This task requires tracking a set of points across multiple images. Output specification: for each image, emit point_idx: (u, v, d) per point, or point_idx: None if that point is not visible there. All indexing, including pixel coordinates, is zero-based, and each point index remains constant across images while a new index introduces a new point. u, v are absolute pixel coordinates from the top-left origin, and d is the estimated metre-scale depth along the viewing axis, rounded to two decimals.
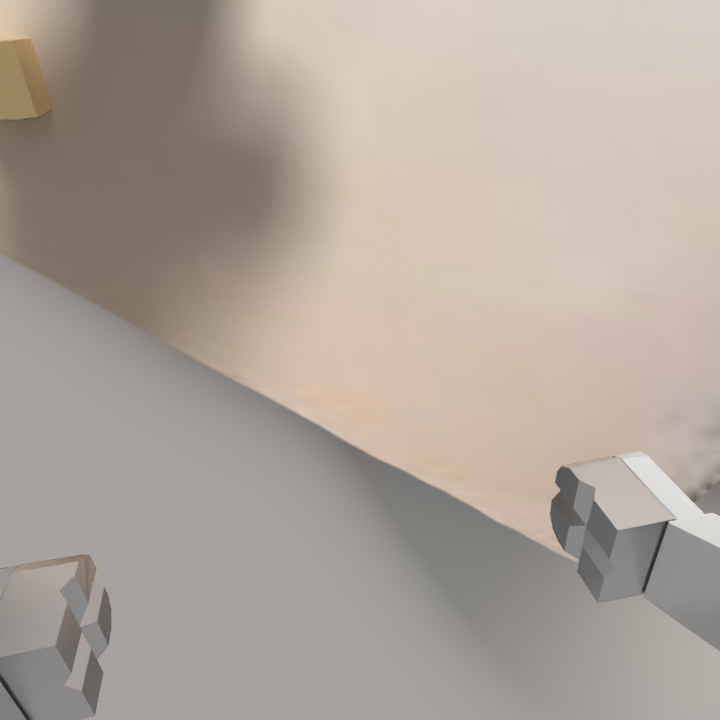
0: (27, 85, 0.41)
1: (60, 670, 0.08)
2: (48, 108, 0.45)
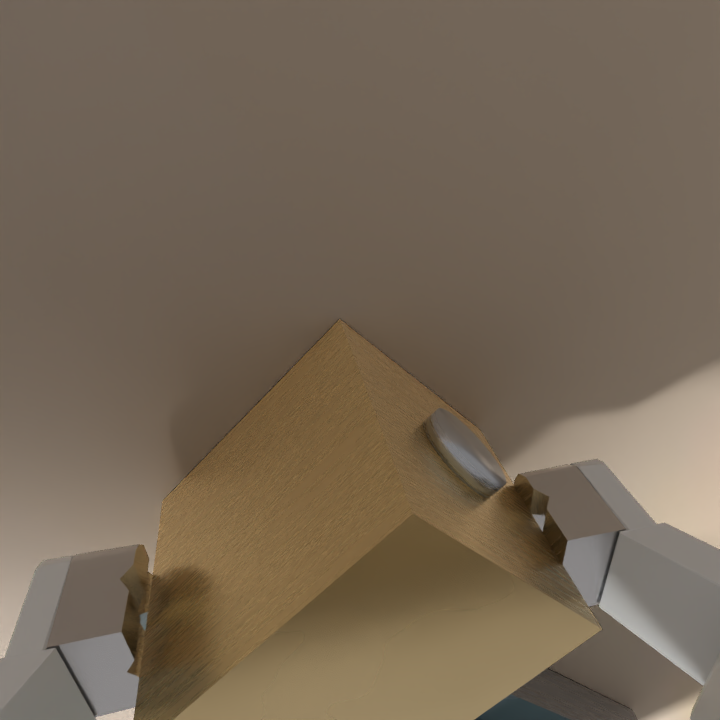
0: (277, 628, 0.06)
1: (124, 656, 0.08)
2: (342, 354, 0.09)
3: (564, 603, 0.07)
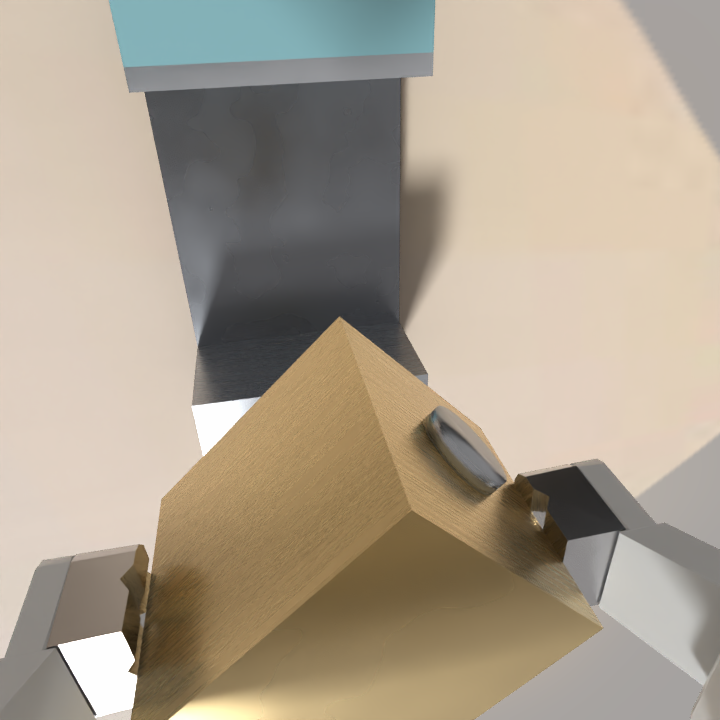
0: (274, 626, 0.06)
1: (124, 657, 0.08)
2: (342, 351, 0.09)
3: (564, 601, 0.07)
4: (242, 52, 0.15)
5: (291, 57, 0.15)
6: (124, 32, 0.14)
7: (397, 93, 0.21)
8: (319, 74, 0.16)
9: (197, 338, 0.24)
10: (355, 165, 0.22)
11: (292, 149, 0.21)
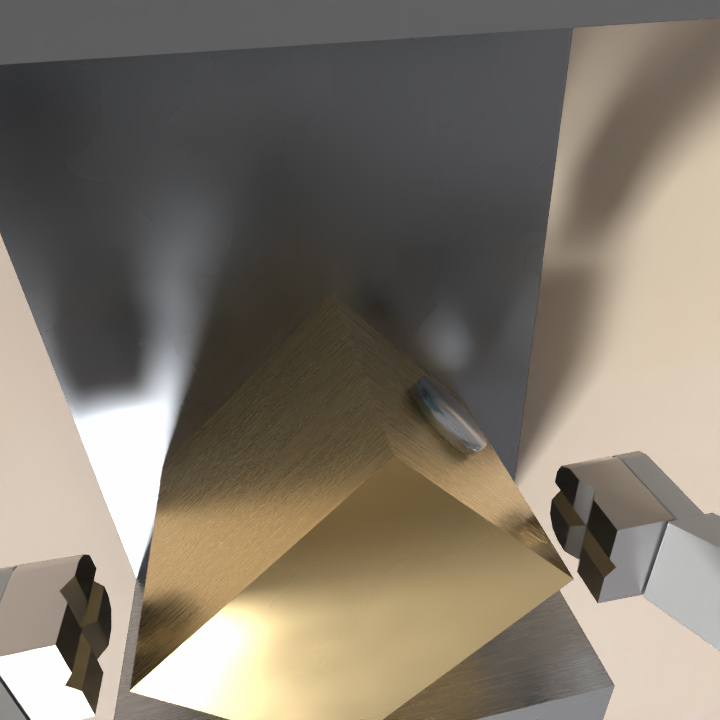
0: (268, 565, 0.07)
1: (60, 670, 0.08)
2: (334, 323, 0.09)
3: (537, 552, 0.08)
4: None
5: None
6: None
7: (559, 84, 0.09)
8: (456, 3, 0.04)
9: (134, 566, 0.13)
10: (453, 242, 0.10)
11: (318, 214, 0.09)
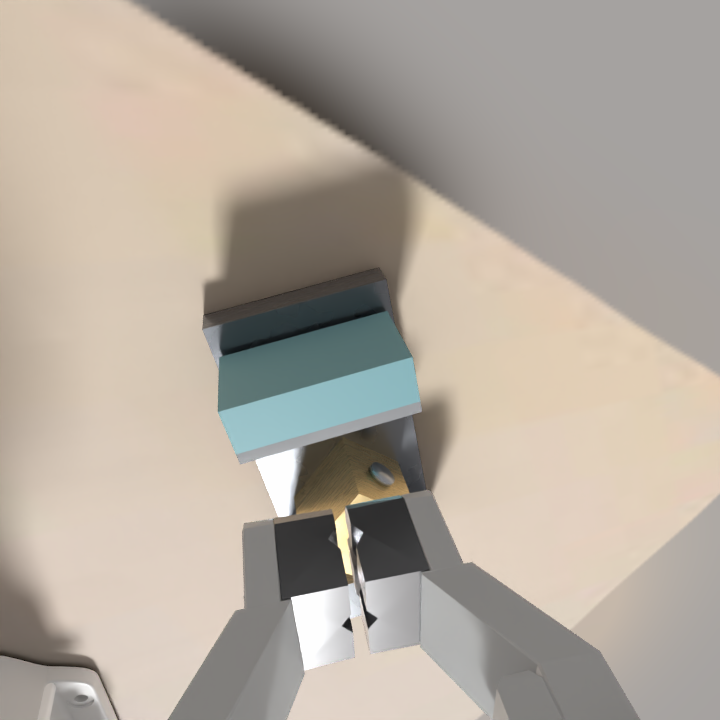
0: None
1: (343, 610, 0.08)
2: (344, 450, 0.31)
3: None
4: (303, 431, 0.25)
5: (333, 425, 0.25)
6: (235, 439, 0.24)
7: None
8: (351, 428, 0.25)
9: None
10: None
11: None
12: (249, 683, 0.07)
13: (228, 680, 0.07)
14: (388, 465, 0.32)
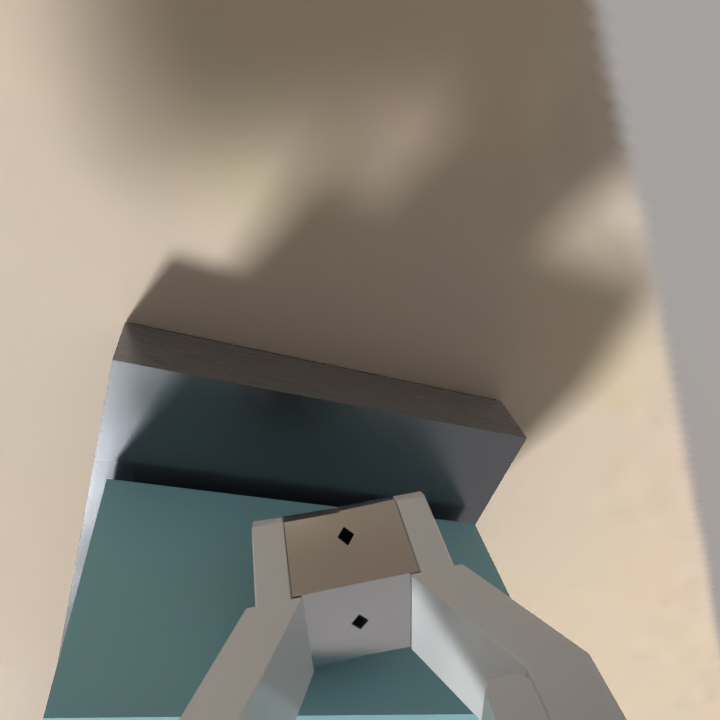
0: None
1: (353, 608, 0.08)
2: None
3: None
4: None
5: None
6: None
7: None
8: None
9: None
10: None
11: None
12: (262, 682, 0.07)
13: (241, 677, 0.07)
14: None
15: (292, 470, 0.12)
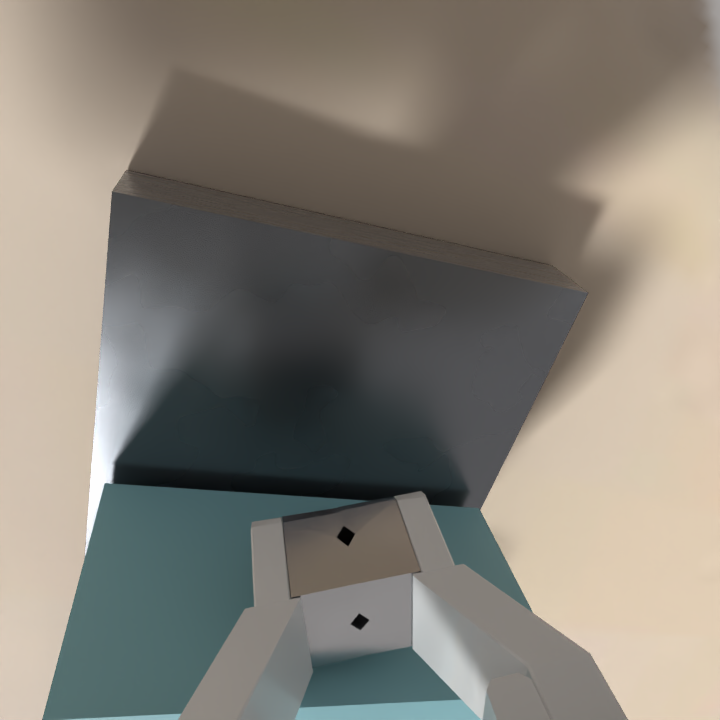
0: None
1: (353, 608, 0.08)
2: None
3: None
4: None
5: None
6: None
7: (483, 493, 0.14)
8: None
9: None
10: None
11: None
12: (260, 682, 0.07)
13: (239, 678, 0.07)
14: None
15: (325, 336, 0.11)
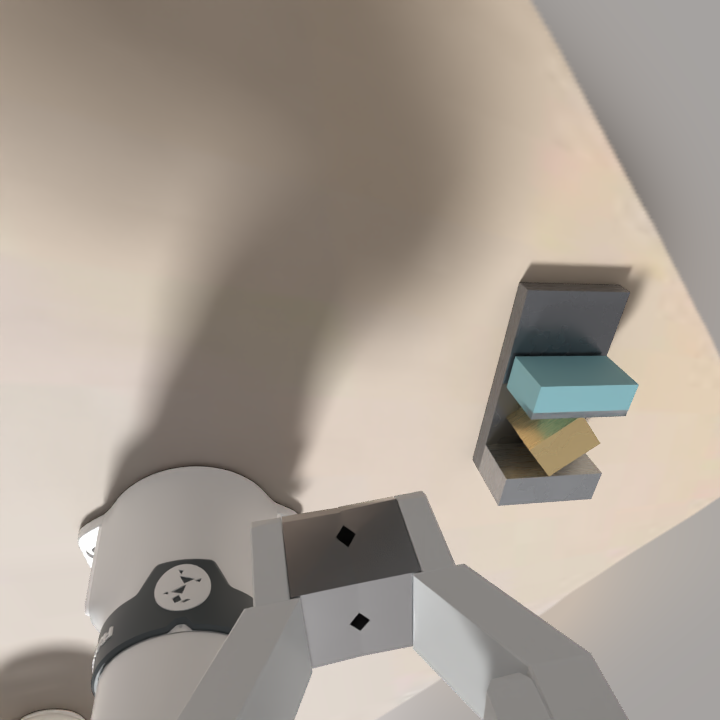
0: (559, 430, 0.45)
1: (351, 608, 0.08)
2: None
3: (595, 436, 0.47)
4: (569, 409, 0.44)
5: (583, 411, 0.44)
6: (538, 404, 0.43)
7: (606, 351, 0.48)
8: (590, 415, 0.45)
9: (487, 441, 0.51)
10: None
11: None
12: (258, 681, 0.07)
13: (238, 678, 0.07)
14: None
15: (566, 313, 0.45)
